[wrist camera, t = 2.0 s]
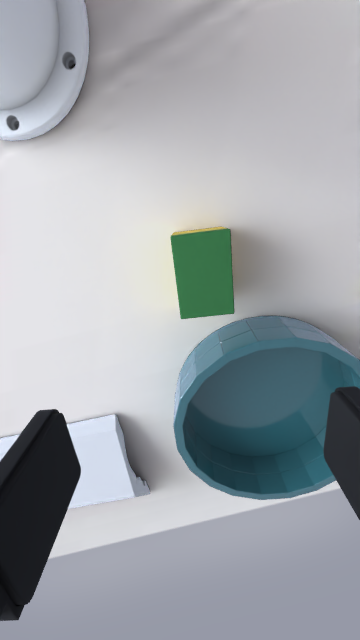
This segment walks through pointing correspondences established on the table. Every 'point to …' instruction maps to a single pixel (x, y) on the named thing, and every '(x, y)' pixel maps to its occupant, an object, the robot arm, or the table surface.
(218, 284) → the sponge
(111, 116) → the table surface
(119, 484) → the crown molding
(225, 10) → the table surface
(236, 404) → the bowl
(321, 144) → the table surface
